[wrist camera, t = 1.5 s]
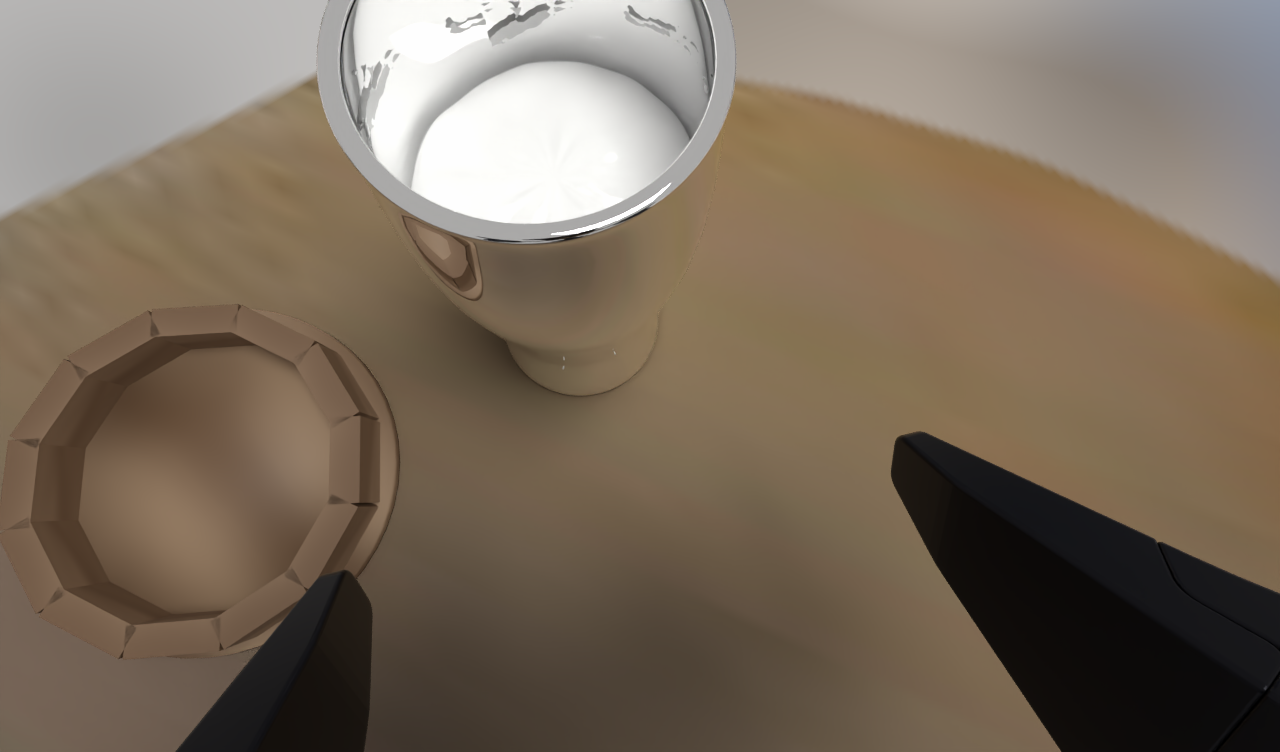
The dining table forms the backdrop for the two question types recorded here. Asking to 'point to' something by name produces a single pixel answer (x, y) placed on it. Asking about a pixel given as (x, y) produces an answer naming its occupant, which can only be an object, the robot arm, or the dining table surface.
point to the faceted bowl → (196, 480)
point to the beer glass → (539, 159)
